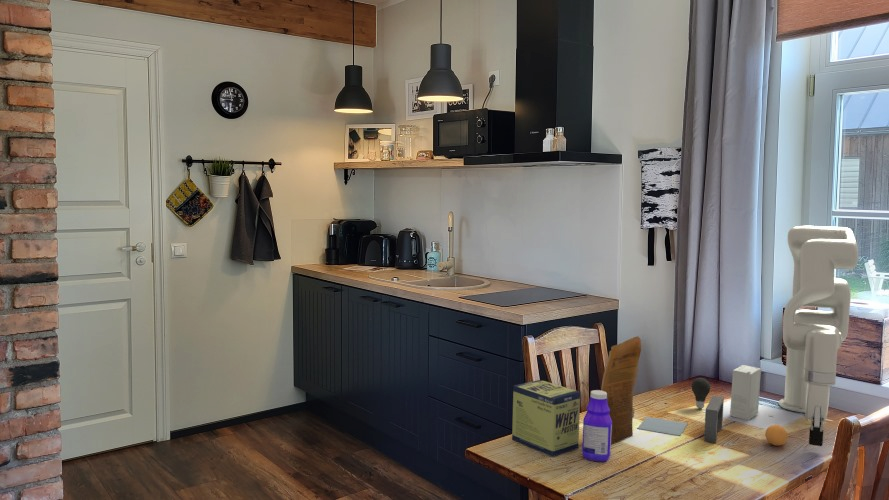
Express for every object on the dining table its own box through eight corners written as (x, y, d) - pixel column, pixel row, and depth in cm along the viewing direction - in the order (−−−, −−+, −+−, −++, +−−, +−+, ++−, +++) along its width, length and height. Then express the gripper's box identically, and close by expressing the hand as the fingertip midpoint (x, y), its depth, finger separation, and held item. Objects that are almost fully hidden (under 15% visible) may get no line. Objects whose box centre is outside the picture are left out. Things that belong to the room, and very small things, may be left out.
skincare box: (739, 410, 221) (741, 364, 220) (759, 414, 217) (761, 367, 216) (729, 416, 215) (731, 369, 214) (749, 421, 211) (751, 372, 210)
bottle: (611, 456, 182) (614, 390, 180) (609, 464, 176) (611, 396, 175) (583, 452, 184) (585, 387, 183) (580, 460, 179) (582, 393, 177)
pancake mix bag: (646, 434, 199) (650, 336, 196) (607, 450, 186) (611, 346, 183) (625, 428, 204) (629, 332, 201) (586, 443, 191) (589, 342, 188)
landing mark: (646, 417, 214) (646, 416, 214) (687, 423, 208) (687, 423, 208) (637, 428, 203) (637, 428, 203) (680, 436, 197) (680, 435, 197)
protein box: (553, 457, 181) (554, 398, 179) (511, 440, 193) (512, 384, 191) (580, 448, 187) (581, 391, 186) (537, 432, 199) (538, 378, 198)
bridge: (704, 441, 193) (705, 409, 192) (711, 426, 206) (712, 395, 205) (715, 443, 192) (717, 410, 191) (722, 428, 205) (723, 397, 204)
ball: (765, 440, 195) (766, 420, 195) (787, 443, 192) (788, 424, 192) (763, 446, 190) (764, 426, 190) (786, 450, 188) (787, 429, 187)
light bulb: (710, 412, 219) (712, 380, 218) (691, 411, 220) (693, 379, 219) (707, 406, 225) (709, 376, 224) (689, 405, 226) (690, 375, 225)
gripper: (804, 368, 193) (800, 433, 195) (802, 381, 180) (798, 450, 182) (835, 372, 190) (831, 438, 191) (836, 385, 177) (832, 456, 178)
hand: (815, 444), depth 186 cm, fingers closed
